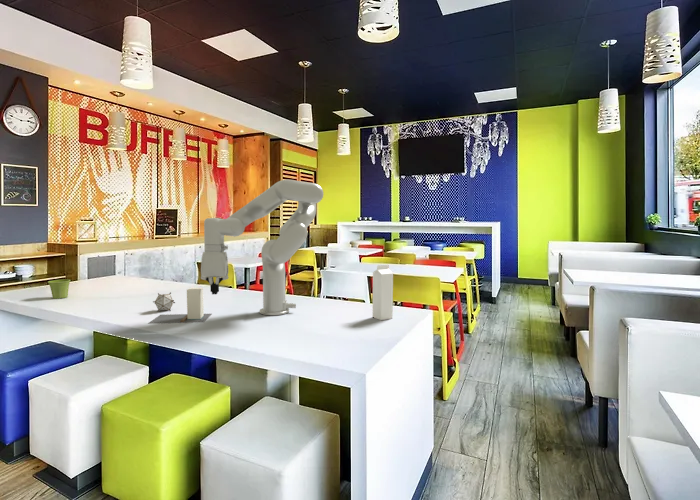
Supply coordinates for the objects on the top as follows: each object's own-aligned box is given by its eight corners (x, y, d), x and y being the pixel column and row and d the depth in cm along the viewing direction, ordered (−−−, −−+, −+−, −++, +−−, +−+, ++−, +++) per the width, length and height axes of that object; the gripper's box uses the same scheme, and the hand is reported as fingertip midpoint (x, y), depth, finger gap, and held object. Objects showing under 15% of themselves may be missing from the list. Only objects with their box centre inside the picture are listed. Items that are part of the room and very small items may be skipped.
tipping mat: (212, 314, 169) (212, 311, 169) (204, 322, 155) (204, 320, 155) (160, 315, 166) (160, 312, 166) (147, 324, 152) (147, 321, 152)
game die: (166, 320, 173) (164, 305, 166) (150, 312, 174) (147, 297, 168) (180, 306, 180) (178, 291, 173) (164, 299, 181) (162, 284, 175)
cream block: (203, 316, 164) (202, 287, 163) (200, 319, 159) (199, 289, 158) (191, 316, 163) (190, 287, 162) (187, 319, 158) (186, 289, 157)
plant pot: (44, 299, 196) (43, 282, 195) (56, 296, 206) (55, 279, 205) (64, 299, 197) (63, 282, 196) (75, 295, 206) (74, 279, 206)
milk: (392, 318, 163) (393, 265, 162) (380, 320, 160) (381, 266, 158) (383, 315, 169) (384, 263, 167) (371, 317, 165) (372, 264, 163)
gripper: (234, 248, 164) (235, 292, 166) (197, 248, 163) (198, 292, 164) (231, 249, 157) (232, 295, 158) (192, 249, 155) (193, 295, 157)
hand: (214, 293), depth 161 cm, fingers closed
